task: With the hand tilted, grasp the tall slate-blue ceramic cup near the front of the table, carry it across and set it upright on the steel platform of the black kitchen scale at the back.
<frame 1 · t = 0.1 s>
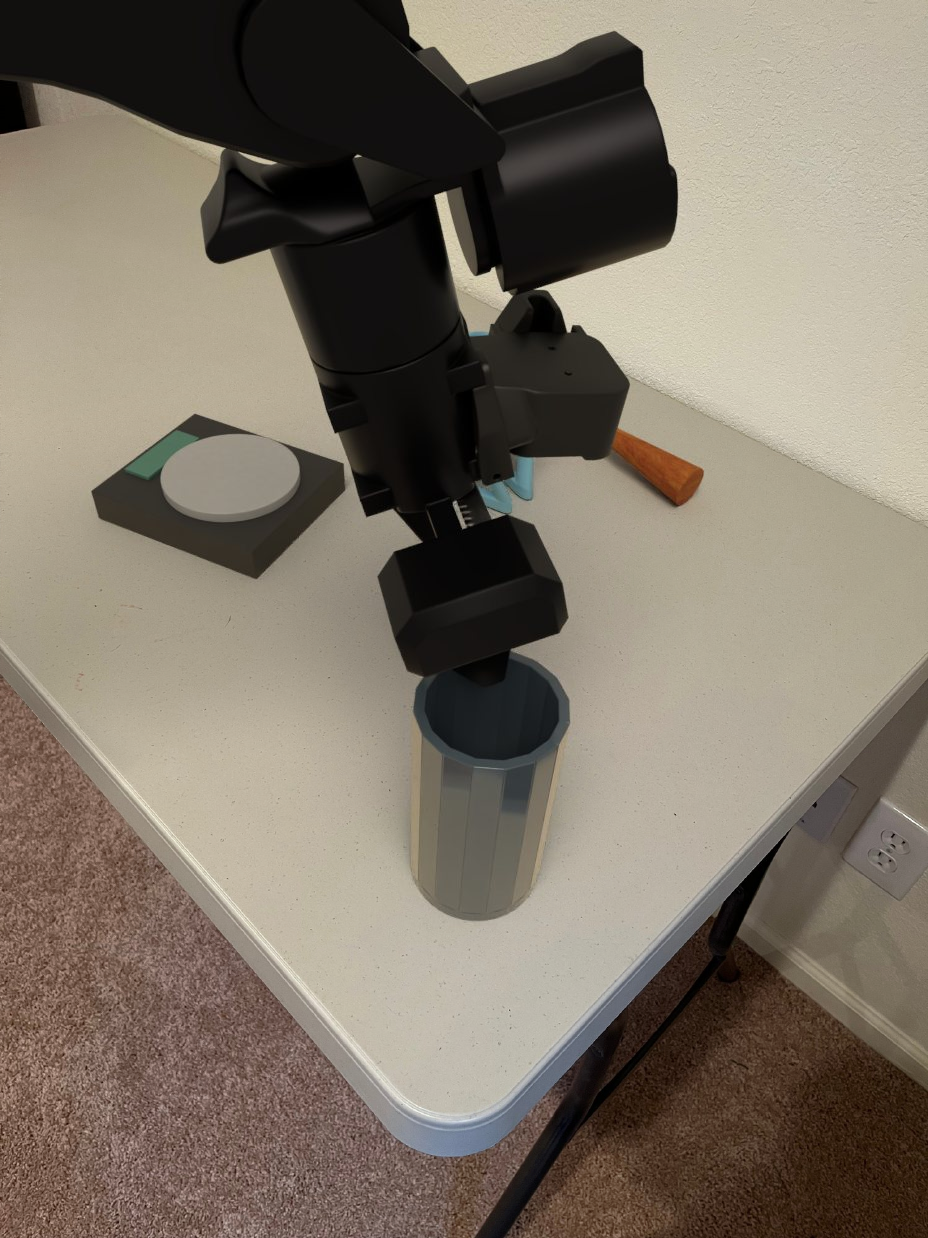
hand: (467, 612, 44), 13 cm above the table, tool pointing down, fingers open, 9 cm apart
cup: (474, 861, 49), on the table
scale: (225, 503, 70), on the table
kendama: (589, 451, 77), on the table
chair: (481, 485, 73), on the table
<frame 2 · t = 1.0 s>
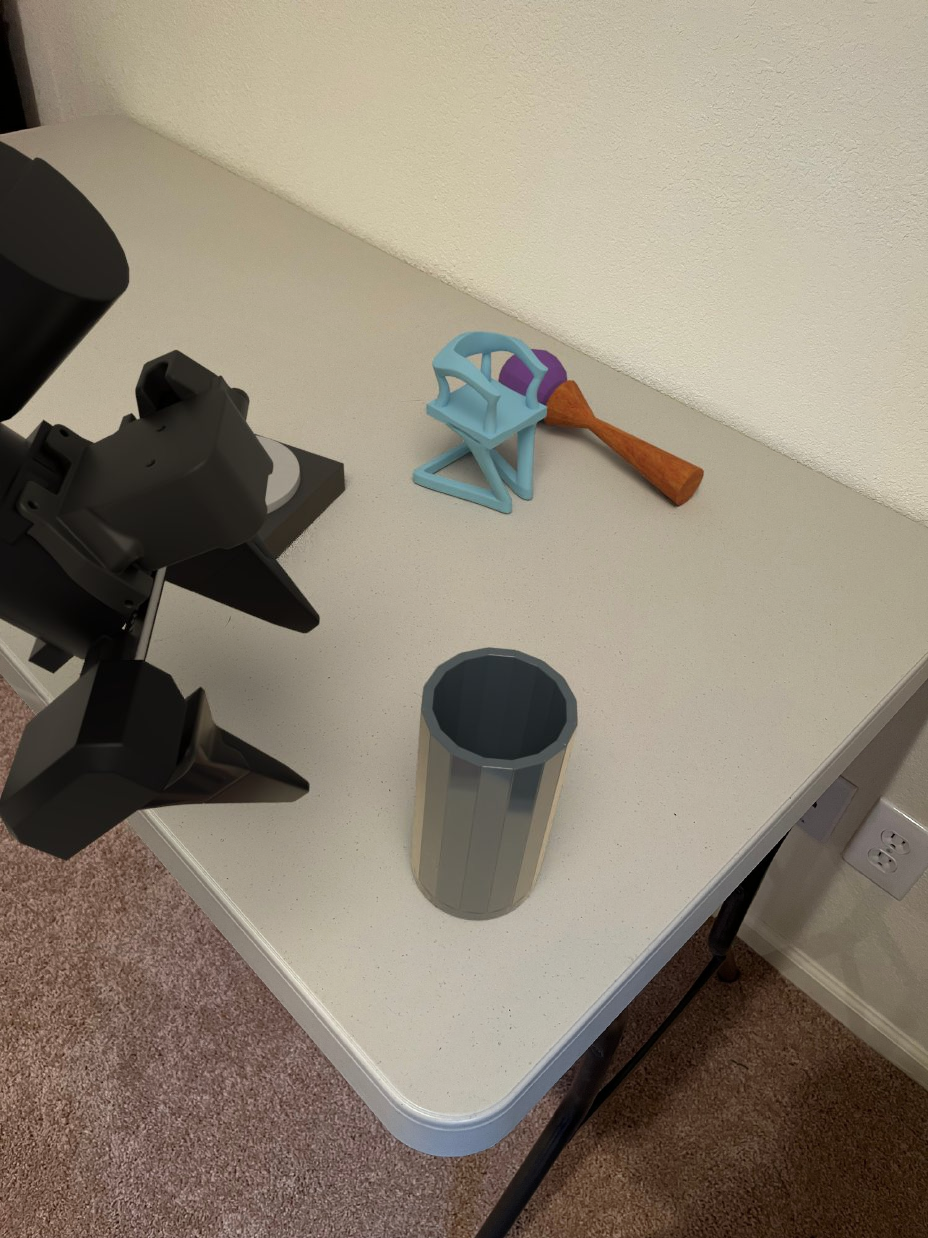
hand: (308, 702, 39), 13 cm above the table, tool tilted 45°, fingers open, 9 cm apart
nothing on the table moved.
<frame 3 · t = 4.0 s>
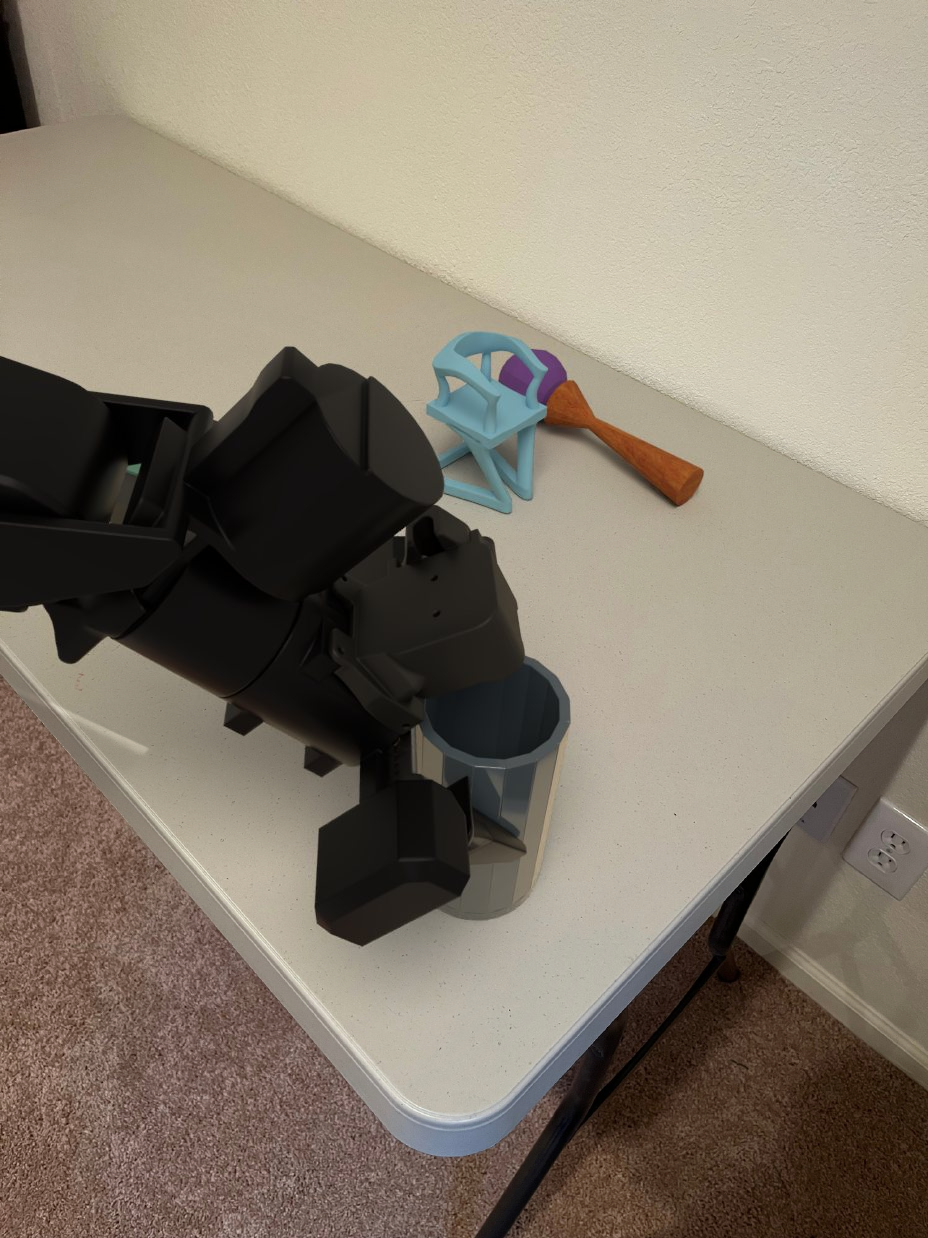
hand: (511, 789, 44), 7 cm above the table, tool tilted 45°, fingers closed on cup, 7 cm apart
cup: (475, 861, 49), on the table, touching gripper
everything else where it was.
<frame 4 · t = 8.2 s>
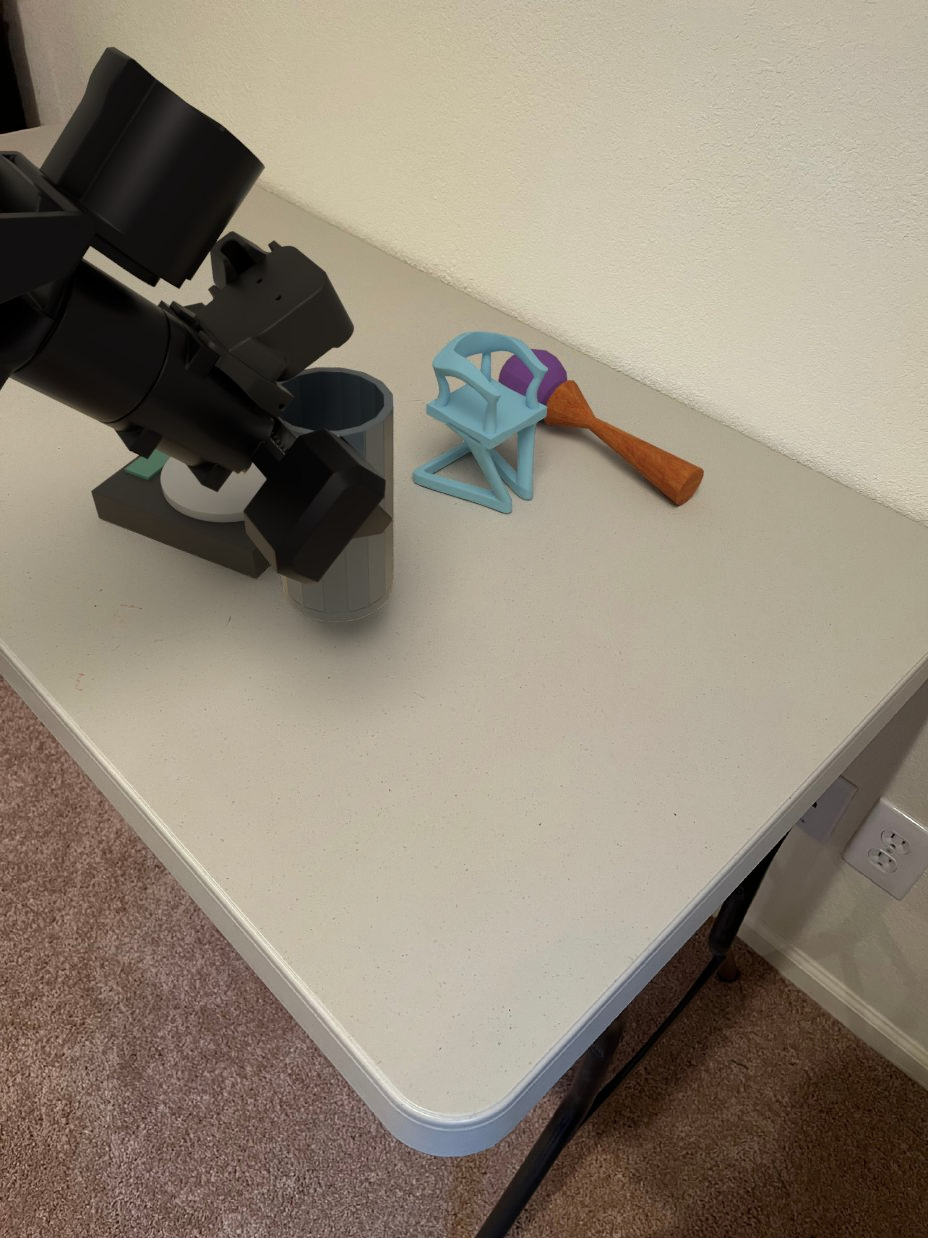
hand: (354, 491, 53), 11 cm above the table, tool tilted 45°, fingers closed on cup, 7 cm apart
cup: (338, 584, 57), point 5 cm above the table, touching gripper
everything else where it was.
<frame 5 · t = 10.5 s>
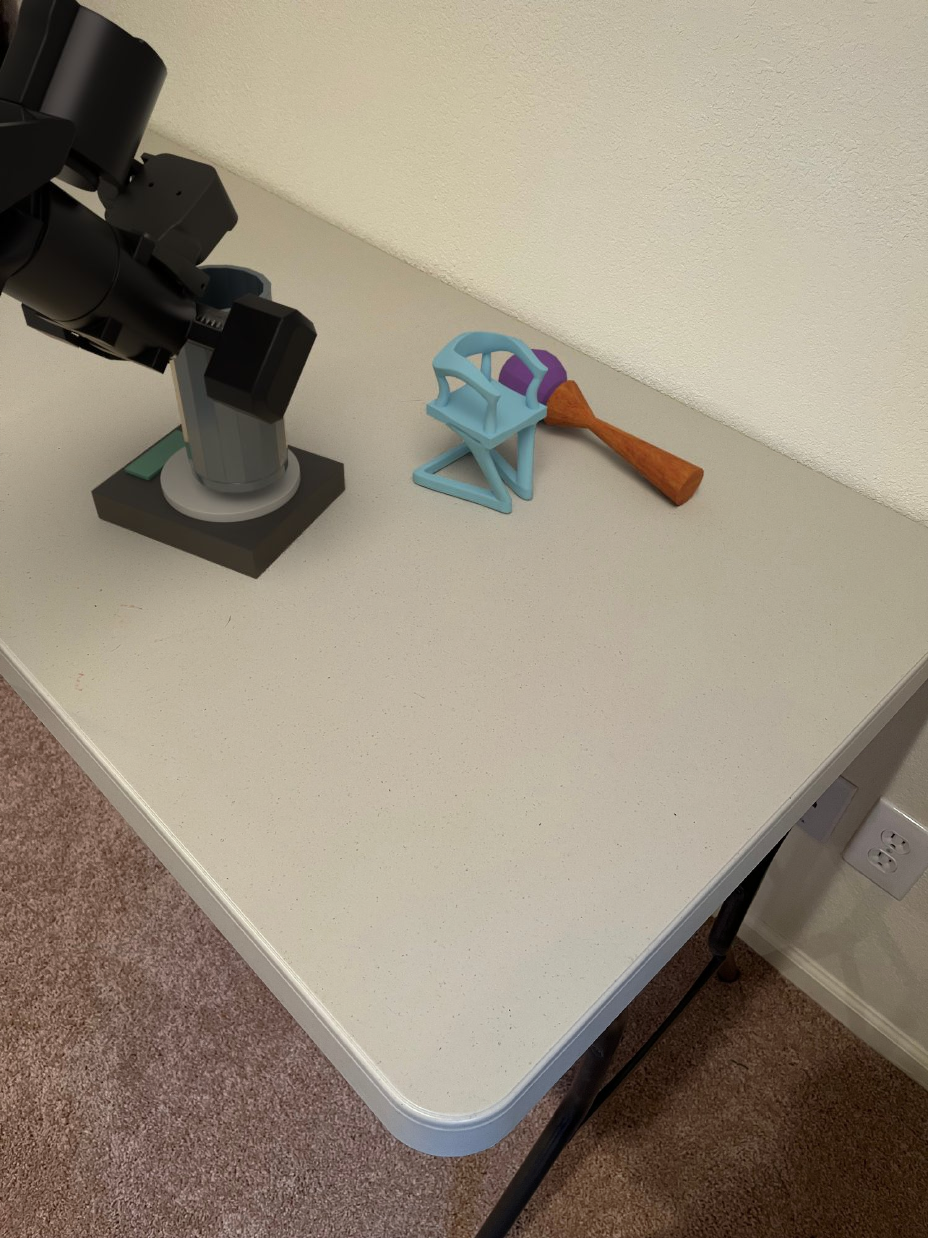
hand: (241, 372, 61), 12 cm above the table, tool tilted 45°, fingers closed on cup, 7 cm apart
cup: (240, 464, 65), point 5 cm above the table, touching gripper
everything else where it was.
when the fingers open (10 cm above the table, at t = 12.4 s): cup stays where it is, resting on scale.
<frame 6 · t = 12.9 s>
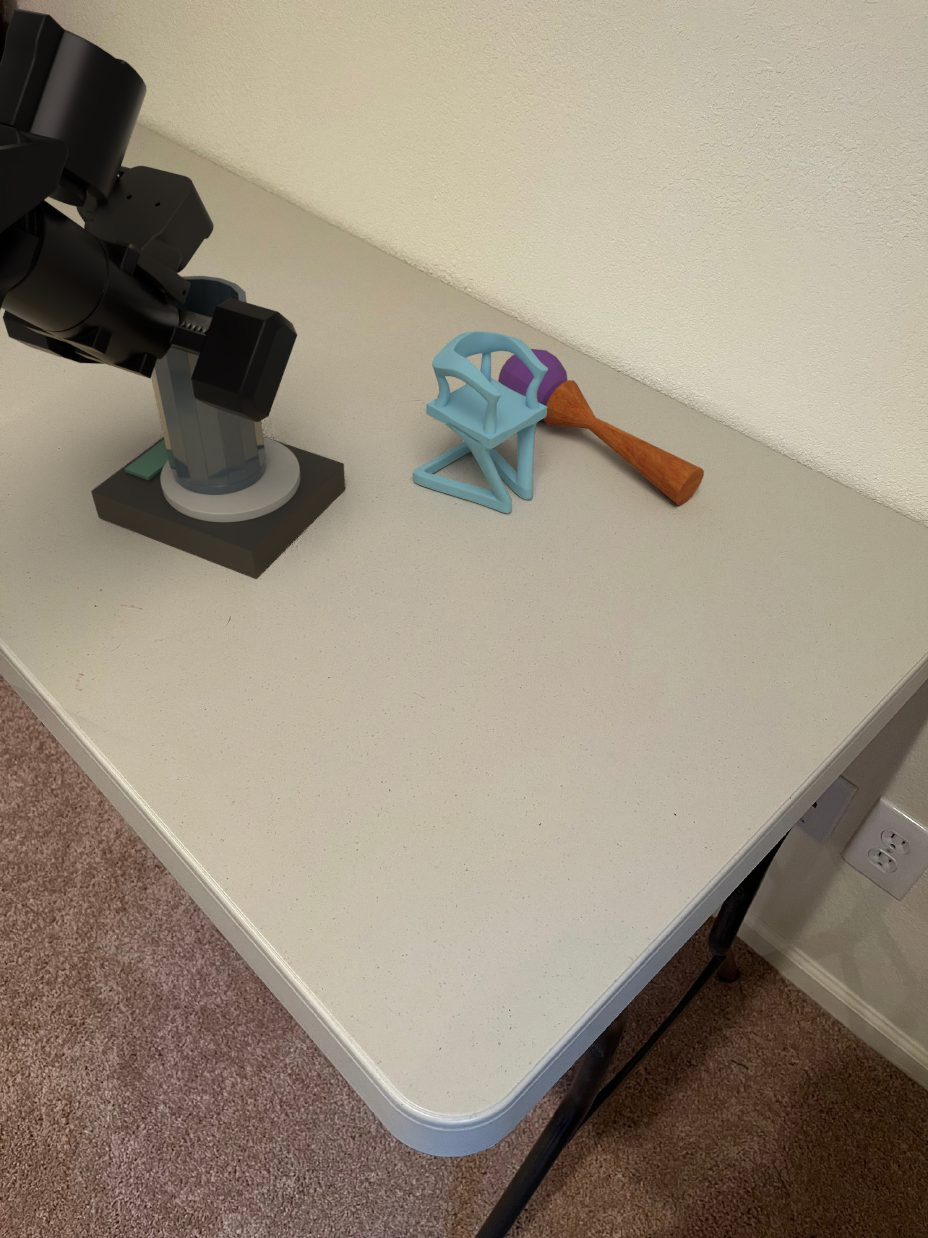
hand: (218, 374, 63), 10 cm above the table, tool tilted 45°, fingers open, 9 cm apart
cup: (219, 467, 67), point 3 cm above the table, touching scale
everything else where it was.
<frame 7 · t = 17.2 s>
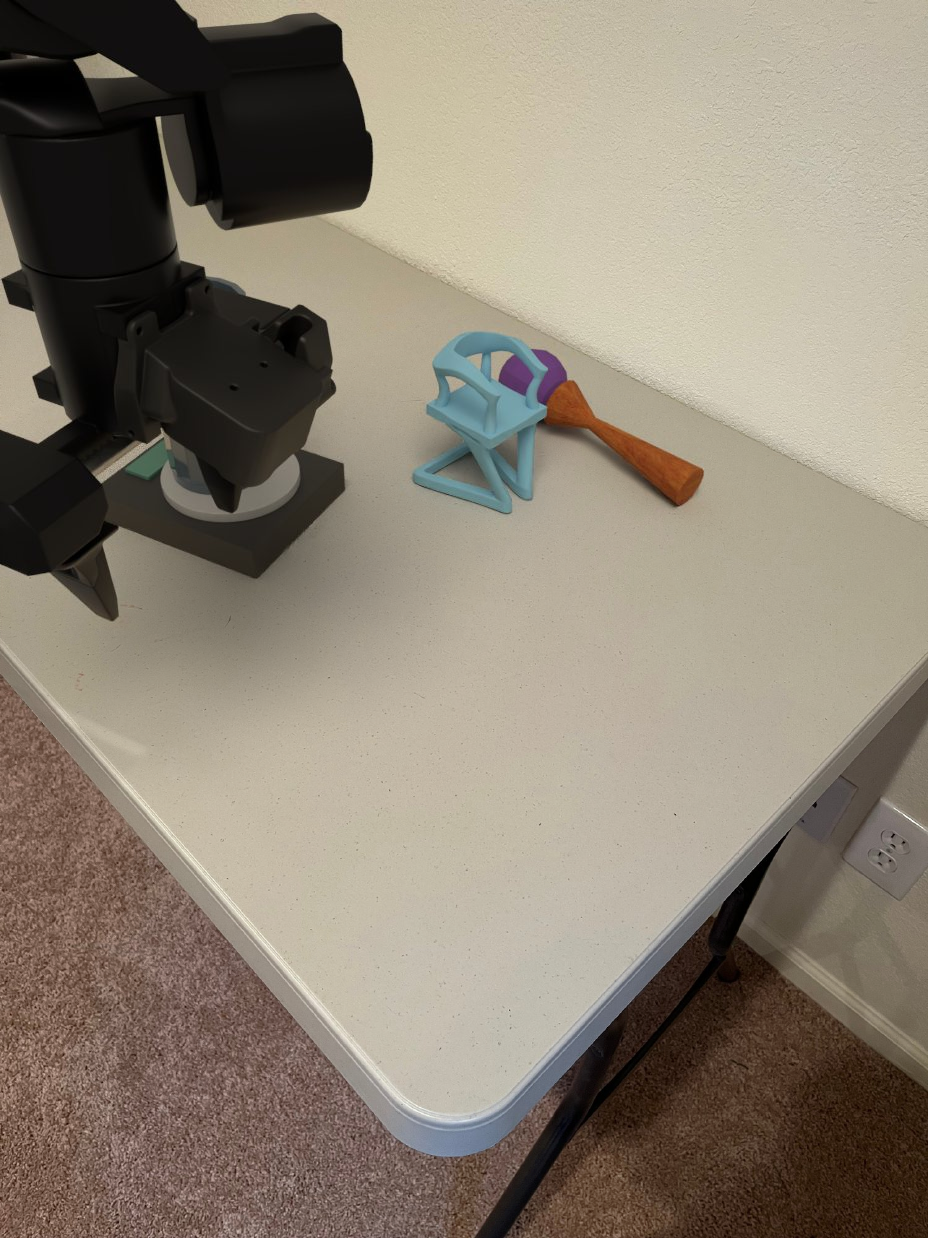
hand: (171, 559, 45), 13 cm above the table, tool pointing down, fingers open, 9 cm apart
nothing on the table moved.
at the end: cup inside the target area on the scale (1.0 cm from its centre), point 3.3 cm above the scale's base; cup tilted 0°; the gripper is holding nothing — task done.
